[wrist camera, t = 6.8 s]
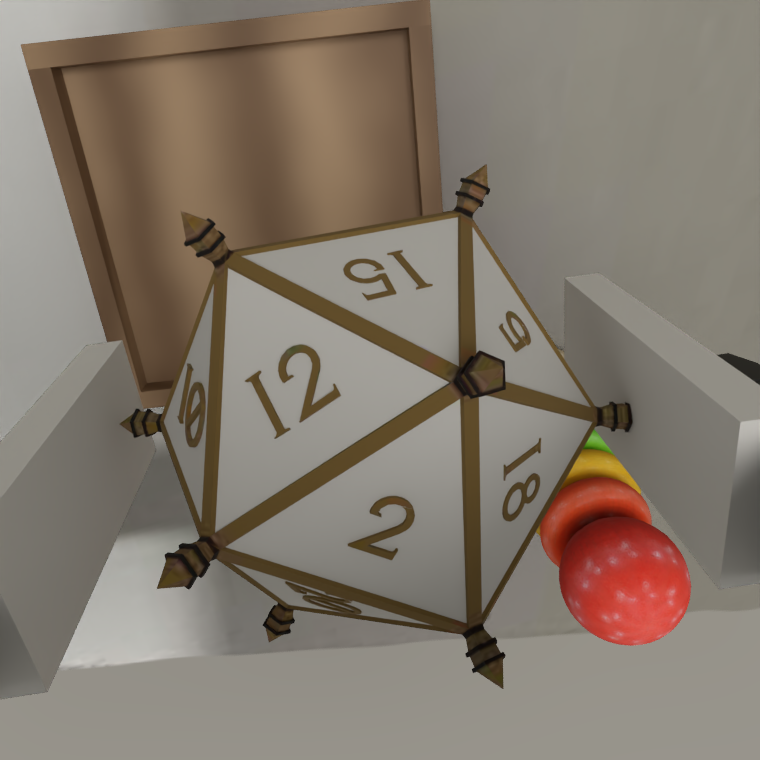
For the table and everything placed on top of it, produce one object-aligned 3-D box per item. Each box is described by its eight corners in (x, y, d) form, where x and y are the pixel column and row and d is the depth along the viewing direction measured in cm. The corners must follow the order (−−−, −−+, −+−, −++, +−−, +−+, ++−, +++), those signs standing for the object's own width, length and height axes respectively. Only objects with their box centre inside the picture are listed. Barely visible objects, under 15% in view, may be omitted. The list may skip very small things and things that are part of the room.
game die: (410, 328, 20) (599, 652, 15) (115, 401, 17) (230, 838, 12) (501, 28, 13) (919, 461, 8) (14, 58, 10) (198, 804, 5)
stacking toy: (447, 366, 40) (523, 569, 23) (572, 322, 40) (746, 499, 23) (483, 468, 44) (572, 713, 26) (599, 430, 43) (769, 656, 26)
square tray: (148, 379, 40) (127, 410, 36) (58, 49, 32) (20, 44, 29) (442, 346, 40) (452, 373, 36) (419, 9, 32) (429, -1, 29)
